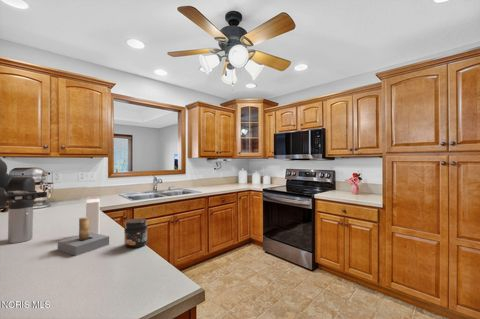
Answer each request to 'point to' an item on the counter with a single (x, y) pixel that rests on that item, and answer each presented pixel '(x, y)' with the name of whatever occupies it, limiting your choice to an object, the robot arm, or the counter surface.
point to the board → (83, 244)
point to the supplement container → (135, 233)
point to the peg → (83, 228)
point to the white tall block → (93, 213)
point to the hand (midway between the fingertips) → (41, 193)
